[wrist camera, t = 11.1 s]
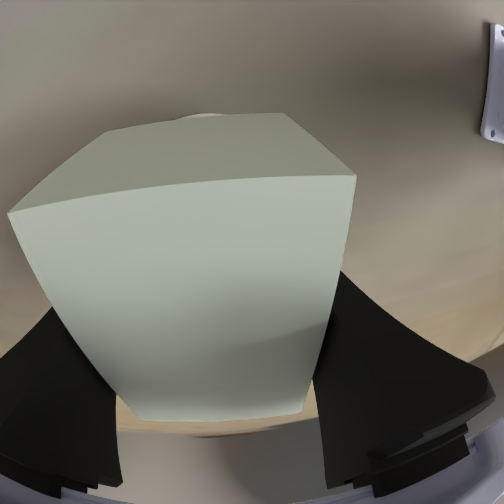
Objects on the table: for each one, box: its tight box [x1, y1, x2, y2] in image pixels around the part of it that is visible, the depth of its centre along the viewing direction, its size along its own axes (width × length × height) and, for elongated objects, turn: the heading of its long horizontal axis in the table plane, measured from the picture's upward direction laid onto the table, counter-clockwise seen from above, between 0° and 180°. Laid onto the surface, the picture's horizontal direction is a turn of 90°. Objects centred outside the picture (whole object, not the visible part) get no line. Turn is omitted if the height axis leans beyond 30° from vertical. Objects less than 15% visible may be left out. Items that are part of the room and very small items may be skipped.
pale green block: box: [7, 113, 357, 422], centre depth 8 cm, size 6×8×6 cm
